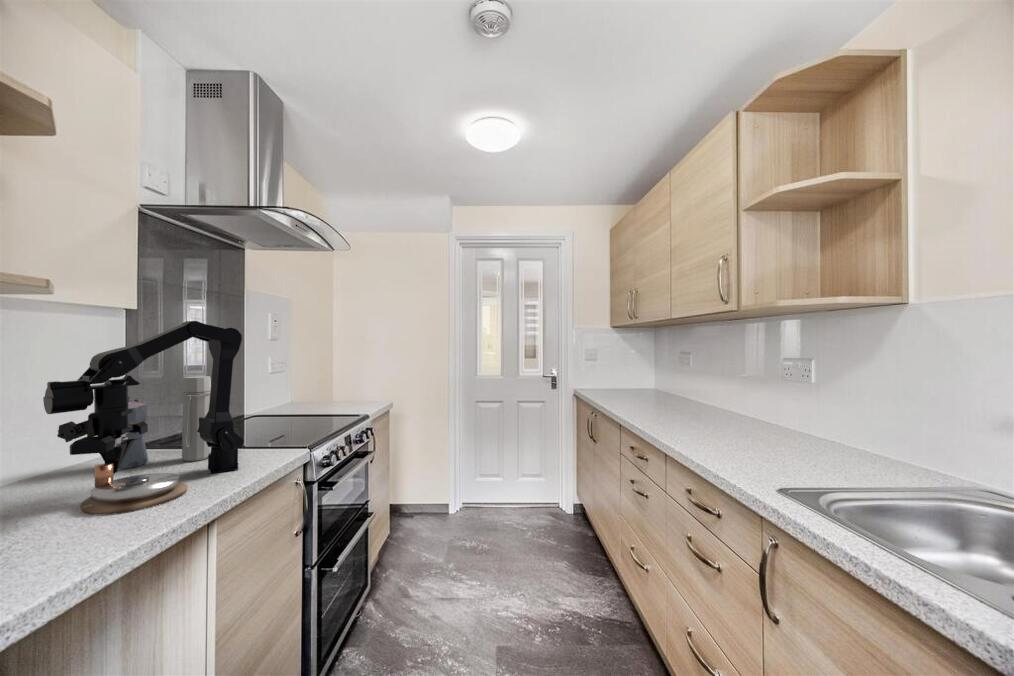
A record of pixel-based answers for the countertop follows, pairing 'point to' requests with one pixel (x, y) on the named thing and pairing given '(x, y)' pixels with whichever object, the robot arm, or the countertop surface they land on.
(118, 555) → the countertop surface
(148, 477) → the handwheel
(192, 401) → the water bottle
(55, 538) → the countertop surface
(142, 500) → the wheel base
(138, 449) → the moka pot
